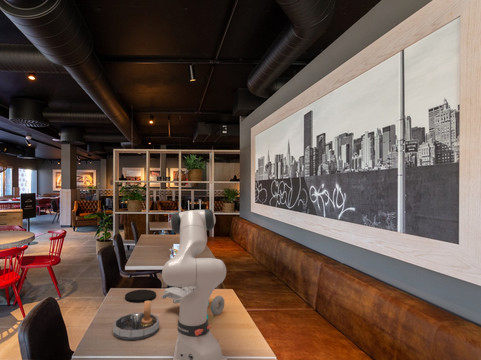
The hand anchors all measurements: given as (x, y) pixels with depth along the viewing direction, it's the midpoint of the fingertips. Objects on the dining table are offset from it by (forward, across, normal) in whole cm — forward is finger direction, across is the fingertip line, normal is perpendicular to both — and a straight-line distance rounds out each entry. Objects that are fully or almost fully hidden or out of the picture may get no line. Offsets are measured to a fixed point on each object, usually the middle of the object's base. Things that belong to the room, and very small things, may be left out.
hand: (167, 299), depth 161 cm
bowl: (+18, 0, +10) cm, 20 cm away
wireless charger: (-7, -35, +10) cm, 37 cm away
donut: (-21, +15, +10) cm, 28 cm away
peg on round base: (+12, 0, +8) cm, 14 cm away
